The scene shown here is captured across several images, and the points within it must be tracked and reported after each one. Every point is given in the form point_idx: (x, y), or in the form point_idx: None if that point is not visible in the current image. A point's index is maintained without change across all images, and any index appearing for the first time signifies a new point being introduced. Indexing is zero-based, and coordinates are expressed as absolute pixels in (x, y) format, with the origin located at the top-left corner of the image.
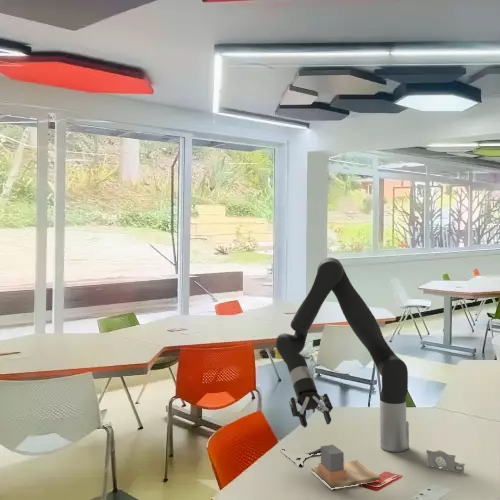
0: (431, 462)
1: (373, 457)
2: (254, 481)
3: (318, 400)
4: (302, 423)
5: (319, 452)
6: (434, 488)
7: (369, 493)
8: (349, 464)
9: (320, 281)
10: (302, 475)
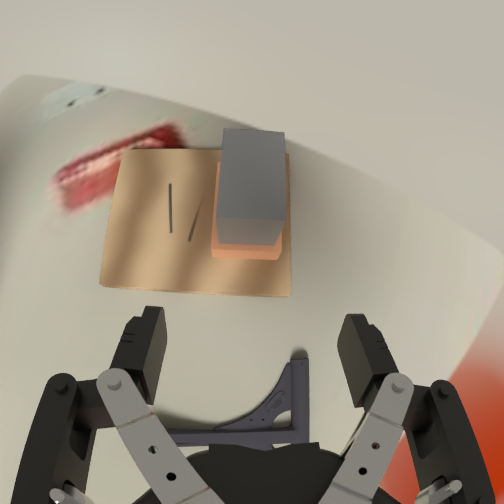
0: None
1: (33, 315)
2: (454, 300)
3: (161, 487)
4: (376, 334)
5: (180, 432)
6: (60, 104)
7: (197, 117)
8: (144, 263)
9: None
10: (324, 288)
